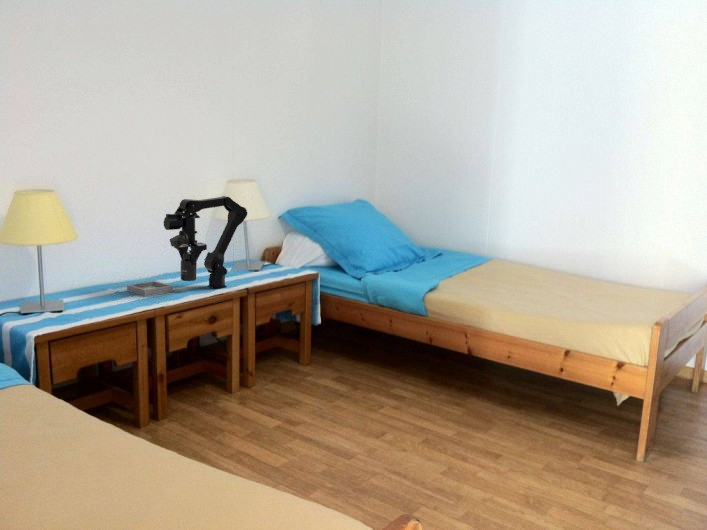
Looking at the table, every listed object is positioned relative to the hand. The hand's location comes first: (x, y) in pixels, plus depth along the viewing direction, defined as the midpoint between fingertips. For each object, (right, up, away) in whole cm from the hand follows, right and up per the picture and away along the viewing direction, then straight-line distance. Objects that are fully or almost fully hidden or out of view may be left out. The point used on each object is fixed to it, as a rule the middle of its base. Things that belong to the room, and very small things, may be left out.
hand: (188, 263), depth 300 cm
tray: (-17, -12, -1) cm, 20 cm away
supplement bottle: (0, -7, +1) cm, 7 cm away
